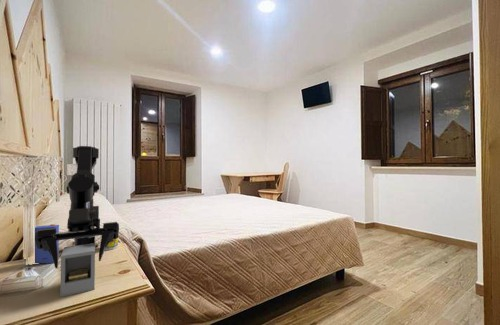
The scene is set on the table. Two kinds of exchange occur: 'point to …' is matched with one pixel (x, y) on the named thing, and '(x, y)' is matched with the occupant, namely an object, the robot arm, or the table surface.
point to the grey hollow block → (77, 268)
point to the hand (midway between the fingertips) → (78, 263)
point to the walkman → (40, 254)
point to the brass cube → (78, 274)
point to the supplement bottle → (112, 244)
